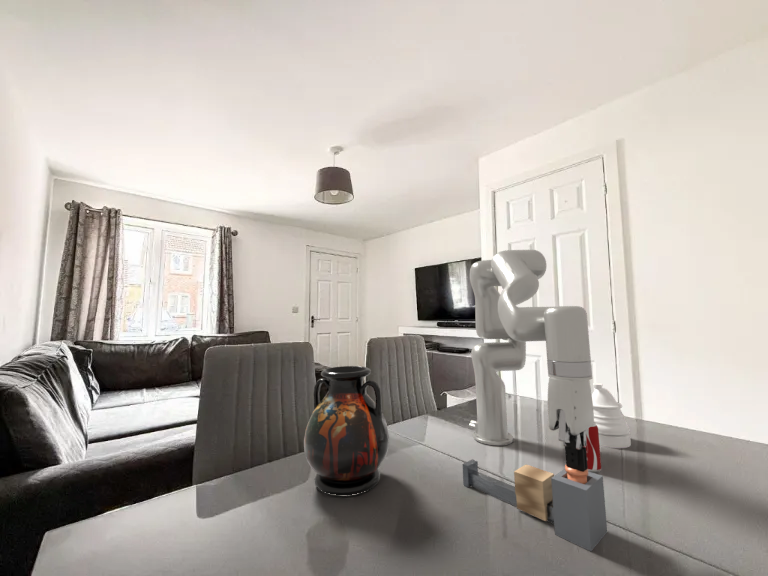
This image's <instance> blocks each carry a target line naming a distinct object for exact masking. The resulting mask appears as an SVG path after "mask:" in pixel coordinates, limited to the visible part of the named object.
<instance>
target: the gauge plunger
mask: <svg viewBox="0 0 768 576" xmlns="http://www.w3.org/2000/svg"><path fill="white" fill-rule="evenodd" d="M564 469H565V471H566V472H567V476H568V479H570V480H573V481H576V482H579V483H582V484H586V483H587V476H588V469H586V470H585V471H584V472H582V471H579V470H575V469H572V468H569V467H567V466H566V464H565V465H564Z"/></svg>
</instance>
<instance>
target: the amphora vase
mask: <svg viewBox="0 0 768 576" xmlns="http://www.w3.org/2000/svg"><path fill="white" fill-rule="evenodd" d="M371 371H372V370H371V368H368V367H366V366H360V365H358V366H357V365H347V366H346V365H345V366H344V365H343V366H342V365H340V366H333V367H328V368H324V369H323V370H322V371H321V372H320V376H322V377H321V378H319V379H318V380H317V381H316V382H315V385H314V386H313V411H312V413H311V415H310V417H309V419H308V422H307V425H306V427H305V431H304V432H305V433H304V437H303V447H304V448H303V449H304V450H303V451H304V457H305V458H306V461H307V463H308V464H309V466H310V468H311V469H312V470H313V472H315V473H316V474H315V476H314V480H313V481H314V484H315V487H316V486H317V487H318V488H319V489H320V490H322V491H323V492H326V493H330V494H336V495H352V494H357V493H361V492H364V491H367V490H368V491H370V490H372V489H374V487H376V485H378V483H379V481H380V479H381V472H380V469H379V468H380V467H381V466H382V464H383V462H384V461H385V459H386V457H387V455H388V451H389V448H390V434H389V429H388V423H387V421H386V417H385V415H384V413H383V411H382V407H383V406H382V403H383V402H382V401H383V400H382V390H381V387H380V386H379V384H378V382H377V381H374V380H366V381H365V382H364V379H365V378H366V377H368V376H369V375H371V373H372V372H371ZM322 384H324V385H325V387H326V392H327V393H326V394H325V396H324V397H323V399H322V400H321V395H320V392H321V387H322ZM369 386H370V387H372V388H373V391H374V395H375V401H374V399H372V397H370V395H369V394H368V393H367V389H368V387H369ZM317 487H316V488H317ZM318 488H317V489H318ZM371 488H372V489H371ZM319 489H318V490H319ZM369 489H370V490H369ZM320 490H319V491H320ZM322 491H321V492H322ZM368 491H367V492H368ZM323 492H322V493H323ZM364 493H365V492H364ZM361 494H362V493H361Z"/></svg>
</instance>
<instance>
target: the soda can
mask: <svg viewBox="0 0 768 576" xmlns="http://www.w3.org/2000/svg"><path fill="white" fill-rule="evenodd" d="M583 447H584V446H583ZM600 447H601V446H600V444H599V432H598V427H597V425H596V422H595V421H594V423H593V425H592V426H591V427H589V428H588V431H587V432H586V453H587V465H588V471H589V472H592V473H599V472H600V471H602V458H601V457H602V456H601V448H600Z"/></svg>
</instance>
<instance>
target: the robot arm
mask: <svg viewBox="0 0 768 576" xmlns="http://www.w3.org/2000/svg"><path fill="white" fill-rule="evenodd" d="M546 271H547V260H546V258H545V256H544V255H543V253H542V252H541V251H538V250H536V249H506V250H502V251H499V252H497V253H495V254H494V255H493V256H492V258H491V259H484V260H479V261H475V262H474V263H472V264H471V266H470V269H469V282H470V285H471V288H472V291H473V294H474V300H475V302H474V303H475V310H474V311H475V313H474V314H475V330H476V335H477V336H478V338H480V339H484V340H508V342H507V341H506V342H505V341H502V342H497V341H495V342H481V343H477V344H475V345H474V346H473V347H472V348H471V352H470V354H471V355H470V356H471V362H472V366H473V367H472V368H473V371H474V379H475V380H474V381H475V397H476V398H475V399H476V420H474V419H471V420H470V423H469V424H468V425H469V428H471V429H474V432H473V439H474V440H475V441H477V442H478V443H481V444H484V445H489V446H507V445H510V444H512V443H513V442H514V436H513V435H512V434H511V433H509V431H508V430H509V429H508V413H507V397H506V396H507V394H506V385H505V382H504V380H503V379H502V378H501V377H500V376H499V375H498V373H497V372H506V371H507V372H508V371H509V372H510V371H512V372H513V371H520V370H522V369H523V368H524V367H525V365H526V359H527V357H526V356H527V352H526V351H527V350H526V349H527V342H545V347H546V349H545V350H546V361H547V363H546V365H547V376H548V383H547V424H548V425H547V426H548V429H549V430H551V431H556V430H558V441H560V442H562V443H563V447H564V454H565V455H564V456H565V465H566V466H567V467H569V468H572V469H575V470H579V471H582V472H584V471H585V470H586V469H588V465H587V453H586V432H587V431H588V428H589V427H591V426H592V425H593V423H594V411H593V401H592V394H593V393H592V387H591V382H590V380H592V379H593V371H592V361H591V360H592V359H591V358H592V357H591V347H590V335H589V322H588V314H587V311H586V309H585V308H584V307H582V306H579V305H565V306H564V305H563V306H562V305H561V306H560V305H559V306H524V307H523V306H522V307H521V306H520V307H519V306H518V305H520V304H522V303H524V302H526V301H528V300H531V298H533V297H534V296H535V295H536V294H537V292H538V290H539V288H540V282H539V279H541V278H543V277H544V275H545V274H546ZM496 287H501V288H502V291H501V293H500V292H499V291H498V289H497V288H496ZM583 446H584V447H583Z"/></svg>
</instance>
